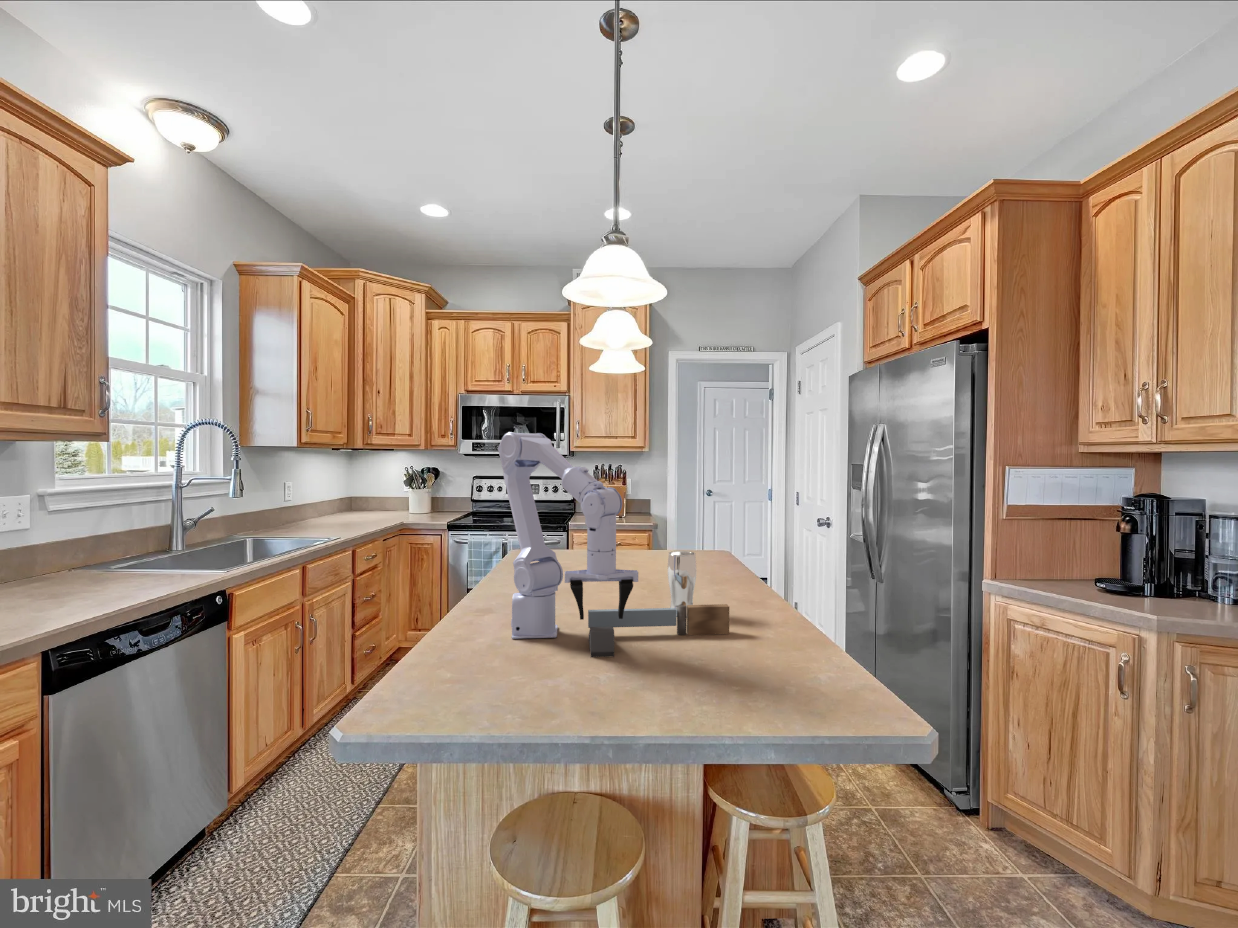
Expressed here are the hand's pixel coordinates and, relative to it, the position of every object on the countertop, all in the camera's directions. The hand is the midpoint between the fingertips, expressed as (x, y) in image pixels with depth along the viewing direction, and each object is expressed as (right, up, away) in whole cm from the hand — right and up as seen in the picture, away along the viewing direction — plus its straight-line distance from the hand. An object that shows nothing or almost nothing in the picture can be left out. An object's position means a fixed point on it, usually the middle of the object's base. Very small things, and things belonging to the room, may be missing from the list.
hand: (601, 617), depth 114 cm
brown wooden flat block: (+22, -7, +11) cm, 25 cm away
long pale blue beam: (+6, -5, +10) cm, 13 cm away
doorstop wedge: (0, -7, +2) cm, 7 cm away
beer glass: (+19, -6, +26) cm, 33 cm away
